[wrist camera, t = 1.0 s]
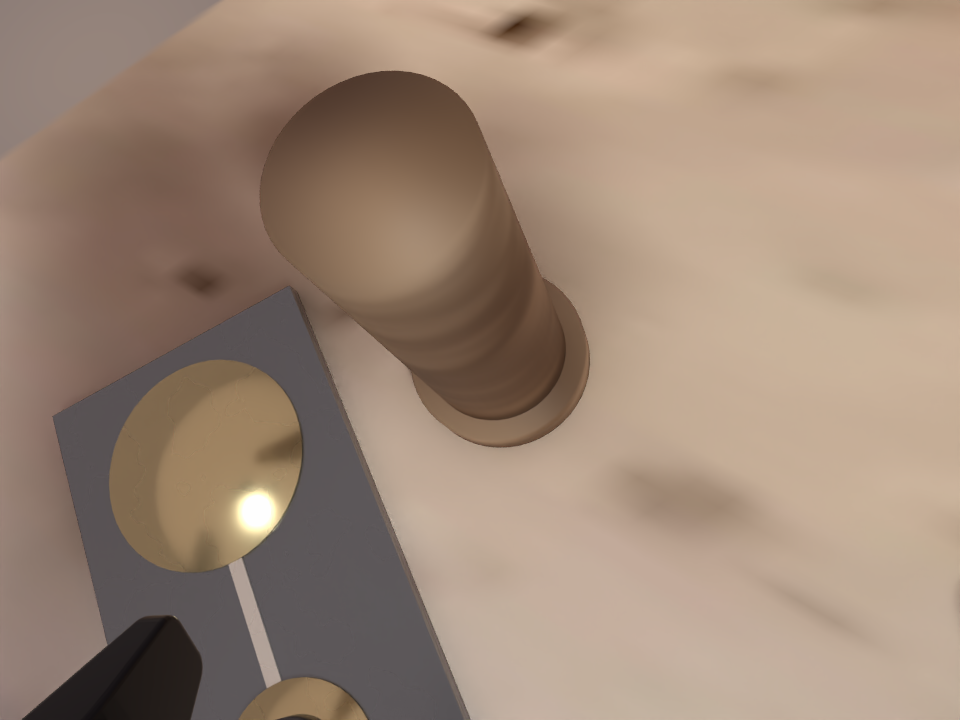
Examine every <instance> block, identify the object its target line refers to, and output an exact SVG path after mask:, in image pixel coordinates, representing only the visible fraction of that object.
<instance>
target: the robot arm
mask: <svg viewBox="0 0 960 720" xmlns="http://www.w3.org/2000/svg"><path fill="white" fill-rule="evenodd" d="M202 671H203V663H202V657H201V654H200V652H199V651H198V649H197V647H196V646H195V644H194V643H193V641H192V639H191V638H190V636H189V635H188V633H187V631H186V630H185V628H184V626H183V625H182V623H181V622H180V620H179V619H178V618H176V617H175V616H172V615H153V616H145V617H142V618H140V619H138V620H137V621H136V622H134V623H133V624H132V625H131V626H130V627H128V628H127V629H126V630H125V631H124V632H123V633H121V634H120V635H119V636H118V637H117V638H116V639H115V640H113V641H112V642H111V643H110V644H109V645H108V646H106V647H105V648H104V649H103V650H102V651H101V652H99V653H98V654H97V655H96V656H95V657H94V658H93V659H91V660H90V661H89V662H88V663H87V664H86V665H84V666H83V667H82V668H81V669H80V670H79V671H77V672H76V673H75V674H74V675H73V676H72V677H70V678H69V679H68V680H67V681H66V682H65V683H64V684H62V685H61V686H60V687H59V688H58V689H57V690H55V691H54V692H53V693H52V694H51V695H50V696H48V697H47V698H46V699H45V700H44V701H43V702H41V703H40V704H39V705H38V706H37V707H36V708H35V709H33V710H32V711H31V712H30V713H29V714H28V715H26V716H25V717H24V718H23V719H22V720H191V717H192V713H193V709H194V706H195V702H196V698H197V694H198V690H199V686H200V682H201V678H202Z"/></svg>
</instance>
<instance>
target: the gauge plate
mask: <svg viewBox="0 0 960 720" xmlns="http://www.w3.org/2000/svg"><path fill="white" fill-rule="evenodd" d="M53 420H54V424H55V429H56V433H57V437H58V441H59V445H60V449H61V453H62V458H63V462H64V466H65V470H66V474H67V478H68V482H69V487H70V491H71V495H72V499H73V503H74V507H75V511H76V516H77V520H78V524H79V528H80V532H81V536H82V540H83V544H84V549H85V553H86V557H87V561H88V565H89V569H90V573H91V578H92V582H93V586H94V590H95V594H96V598H97V602H98V607H99V611H100V615H101V619H102V623H103V627H104V631H105V636H106V640H107V644H108V645H109V644H110V643H111V642H112V641H113V640H115V639H116V638H117V637H118V636H119V635H120V634H121V633H123V632H124V631H125V630H126V629H127V628H128V627H130V626H131V625H132V624H133V623H134V622H136V621H137V620H138V619H140V618H142V617H145V616H153V615H172V616H175V617H176V618H178V619H179V620H180V622H181V623H182V625H183V626H184V628H185V630H186V631H187V633H188V635H189V636H190V638H191V639H192V641H193V643H194V644H195V646H196V647H197V649H198V651H199V652H200V654H201V657H202V663H203V671H202V678H201V682H200V686H199V690H198V694H197V698H196V702H195V706H194V709H193V713H192V717H191V720H470V717H469V715H468V712H467V710H466V707H465V705H464V702H463V700H462V697H461V695H460V693H459V690H458V688H457V685H456V683H455V680H454V678H453V675H452V673H451V670H450V668H449V665H448V663H447V660H446V658H445V656H444V653H443V651H442V648H441V646H440V643H439V641H438V638H437V636H436V633H435V631H434V628H433V626H432V623H431V621H430V619H429V616H428V614H427V611H426V609H425V606H424V604H423V601H422V599H421V596H420V594H419V591H418V589H417V586H416V584H415V582H414V579H413V577H412V574H411V572H410V569H409V567H408V564H407V562H406V559H405V557H404V554H403V552H402V550H401V547H400V545H399V542H398V540H397V537H396V535H395V532H394V530H393V527H392V525H391V522H390V520H389V517H388V515H387V513H386V510H385V508H384V505H383V503H382V500H381V498H380V495H379V493H378V490H377V488H376V485H375V483H374V480H373V478H372V476H371V473H370V471H369V468H368V466H367V463H366V461H365V458H364V456H363V453H362V451H361V448H360V446H359V443H358V441H357V439H356V436H355V434H354V431H353V429H352V426H351V424H350V421H349V419H348V416H347V414H346V411H345V409H344V406H343V404H342V402H341V399H340V397H339V394H338V392H337V389H336V387H335V384H334V382H333V379H332V377H331V374H330V372H329V369H328V367H327V365H326V362H325V360H324V357H323V355H322V352H321V350H320V347H319V345H318V342H317V340H316V337H315V335H314V332H313V330H312V328H311V325H310V323H309V320H308V318H307V315H306V313H305V310H304V308H303V305H302V303H301V300H300V298H299V295H298V293H297V292H296V291H295V290H294V289H293V288H292V287H290V286H288V287H286V288H284V289H282V290H281V291H279V292H277V293H275V294H273V295H272V296H270V297H268V298H266V299H264V300H262V301H261V302H259V303H257V304H255V305H253V306H252V307H250V308H248V309H246V310H244V311H243V312H241V313H239V314H237V315H235V316H234V317H232V318H230V319H228V320H226V321H224V322H223V323H221V324H219V325H217V326H215V327H214V328H212V329H210V330H208V331H206V332H205V333H203V334H201V335H199V336H197V337H195V338H194V339H192V340H190V341H188V342H186V343H185V344H183V345H181V346H179V347H177V348H176V349H174V350H172V351H170V352H168V353H167V354H165V355H163V356H161V357H159V358H157V359H156V360H154V361H152V362H150V363H148V364H147V365H145V366H143V367H141V368H139V369H138V370H136V371H134V372H132V373H130V374H128V375H127V376H125V377H123V378H121V379H119V380H118V381H116V382H114V383H112V384H110V385H109V386H107V387H105V388H103V389H101V390H100V391H98V392H96V393H94V394H92V395H90V396H89V397H87V398H85V399H83V400H81V401H80V402H78V403H76V404H74V405H72V406H71V407H69V408H67V409H65V410H63V411H61V412H60V413H58V414H56V415H54V416H53Z"/></svg>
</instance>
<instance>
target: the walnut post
mask: <svg viewBox="0 0 960 720" xmlns="http://www.w3.org/2000/svg"><path fill="white" fill-rule="evenodd" d="M260 208H261V215H262V219H263V222H264V226H265V229H266V231H267V233H268V235H269V237H270V239H271V241H272V243H273V244H274V246H275V247H276V248H277V250H278V251H279V252H280V253H281V254H282V255H283V256H284V257H285V258H286V259H287V260H288V261H289V262H290V263H291V264H292V265H293V266H294V267H295V268H296V269H298V270H299V271H300V272H301V273H302V274H303V275H304V276H305V277H307V278H308V279H309V280H310V281H311V282H312V283H313V284H314V285H316V286H317V287H318V288H319V289H320V290H321V291H322V292H323V293H325V294H326V295H327V296H328V297H329V298H330V299H331V300H332V301H334V302H335V303H336V304H337V305H338V306H339V307H340V308H341V309H342V310H344V311H345V312H346V313H347V314H348V315H349V316H350V317H351V318H353V319H354V320H355V321H356V322H357V323H358V324H359V325H360V326H362V327H363V328H364V329H365V330H366V331H367V332H368V333H369V334H371V335H372V336H373V337H374V338H375V339H376V340H377V341H378V342H380V343H381V344H382V345H383V346H384V347H385V348H386V349H387V350H389V351H390V352H391V353H392V354H393V355H394V356H395V357H396V358H398V359H399V360H400V361H401V362H402V363H403V364H404V365H405V366H407V367H408V368H409V369H410V370H411V372H412V377H413V381H414V385H415V388H416V390H417V393H418V395H419V397H420V399H421V401H422V402H423V404H424V405H425V407H426V408H427V409H428V411H429V412H430V413H431V414H432V415H433V416H434V417H435V418H436V419H437V420H438V421H439V422H441V423H442V424H443V425H445V426H446V427H447V428H448V429H450V430H451V431H452V432H454V433H455V434H456V435H458V436H460V437H462V438H463V439H465V440H468V441H470V442H473V443H475V444H479V445H483V446H488V447H513V446H519V445H523V444H526V443H529V442H532V441H534V440H537V439H539V438H541V437H543V436H545V435H546V434H548V433H550V432H551V431H553V430H554V429H555V428H556V427H558V426H559V425H560V424H561V423H562V422H563V421H564V420H565V419H566V418H567V417H568V416H569V415H570V414H571V412H572V411H573V410H574V408H575V407H576V405H577V404H578V402H579V400H580V398H581V396H582V394H583V391H584V389H585V386H586V383H587V379H588V375H589V366H590V353H589V347H588V341H587V338H586V335H585V332H584V329H583V326H582V323H581V320H580V318H579V316H578V313H577V311H576V309H575V308H574V306H573V305H572V303H571V302H570V300H569V299H568V298H567V297H566V296H565V295H564V293H563V292H562V291H560V290H559V289H558V288H557V287H556V286H555V285H553V284H552V283H550V282H548V281H547V280H545V279H543V278H542V277H541V275H540V272H539V270H538V267H537V265H536V263H535V260H534V258H533V255H532V253H531V250H530V248H529V246H528V243H527V241H526V238H525V236H524V234H523V231H522V229H521V226H520V224H519V222H518V219H517V217H516V214H515V212H514V210H513V207H512V205H511V202H510V200H509V197H508V195H507V193H506V190H505V188H504V185H503V183H502V181H501V178H500V176H499V173H498V171H497V169H496V166H495V164H494V161H493V159H492V157H491V154H490V152H489V149H488V147H487V144H486V142H485V140H484V137H483V135H482V132H481V130H480V128H479V125H478V123H477V121H476V119H475V117H474V115H473V113H472V111H471V110H470V108H469V107H468V106H467V104H466V103H465V102H464V101H463V100H462V99H461V97H460V96H459V95H458V94H457V93H455V92H454V91H453V90H451V89H450V88H449V87H448V86H446V85H444V84H442V83H441V82H439V81H437V80H435V79H432V78H430V77H427V76H424V75H421V74H416V73H412V72H404V71H380V72H374V73H368V74H364V75H360V76H356V77H353V78H350V79H348V80H345V81H343V82H340V83H338V84H336V85H334V86H332V87H330V88H328V89H327V90H325V91H324V92H322V93H320V94H319V95H317V96H316V97H314V98H313V99H312V100H311V101H309V102H308V103H307V104H306V105H304V106H303V107H302V108H301V109H300V110H299V111H298V112H297V113H296V114H295V115H294V116H293V117H292V118H291V120H290V121H289V122H288V123H287V124H286V126H285V127H284V128H283V130H282V131H281V133H280V134H279V136H278V137H277V139H276V141H275V142H274V144H273V146H272V148H271V150H270V152H269V155H268V157H267V160H266V163H265V165H264V169H263V173H262V177H261V185H260Z"/></svg>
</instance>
